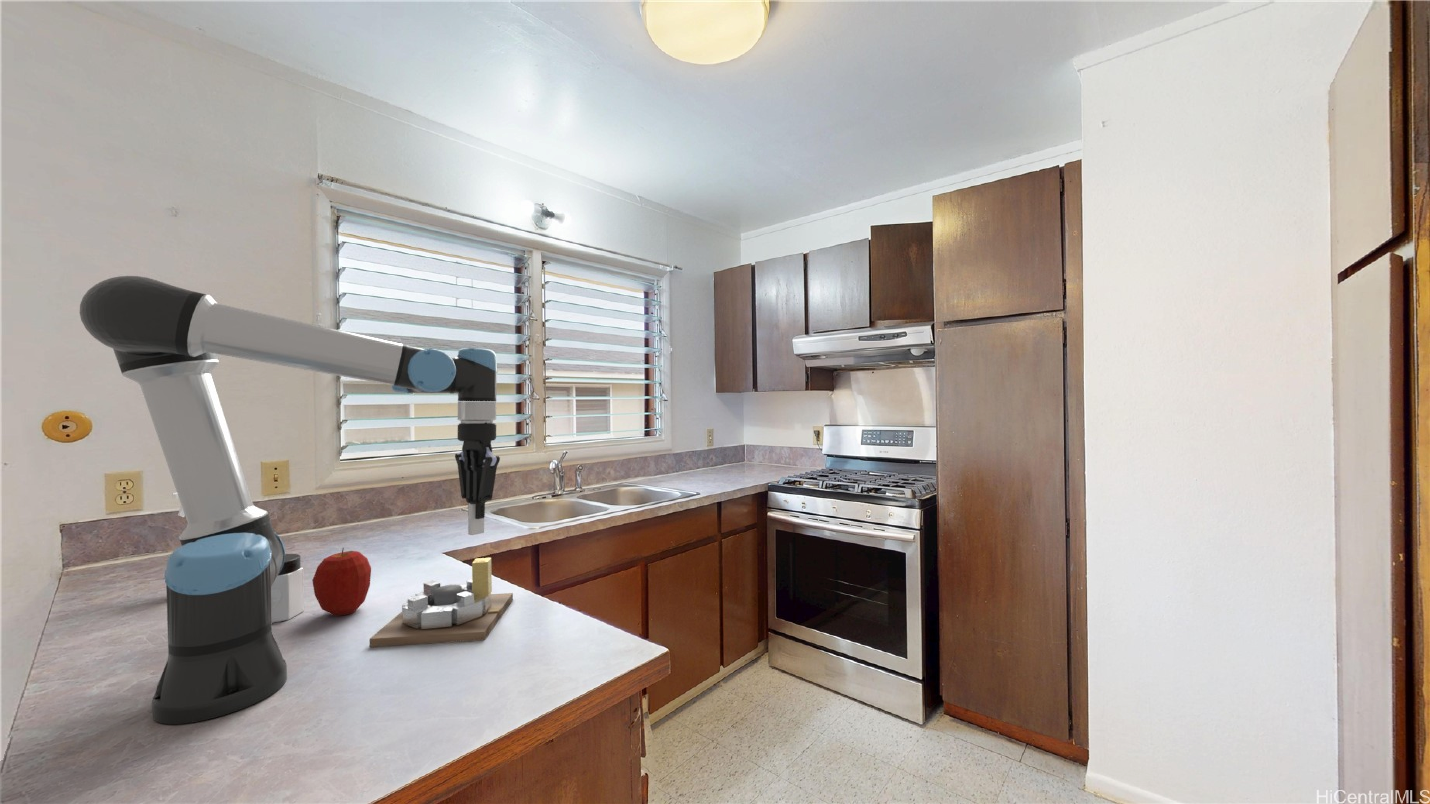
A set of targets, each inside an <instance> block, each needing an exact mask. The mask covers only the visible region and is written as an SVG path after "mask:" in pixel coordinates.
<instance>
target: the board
mask: <svg viewBox="0 0 1430 804" xmlns="http://www.w3.org/2000/svg"><path fill="white" fill-rule="evenodd" d="M461 592H462V586H460V585H459V584H447V585H442V586H440V587H439V588H437V589H435V590H434V606H441V605H452V604H455V603H456V594H458V593H461ZM513 596H514V593H513V592H508V593H491V605H490V607H489V609H488V610H487V612H486V614H482V616H480V617H478V618H475V619H472V620H470V621H467V622H464V623H462V624H459V625H456V624H453V625H452V626H451V627H440V628H429V629H422V627H420V628H418V629H416V628H414V627H412V626H409V625H407V624H405V623H403V621H402V611H401V612H400V613H398V614H397V615H396V616H394V617H393V618H392V619H391V620H390V621H389V622H388V623H386V624H385V625H383V627H382V628H380V629H379V630H378V631H376V633H375V634H373V635H372V636H371V637H370V638H369V648H377V647H392V646H393V647H394V646H406V645H407V646H408V645H425V644H441V643H452V642H453V643H455V642H471V641H472V642H473V641H485V640H486V638H488V636H489V634H490V633H491V631H492V630H494V628H495V626H496V625H497V623H498V622H499V620H500V619H501V617H502V616H503V615H504V613H505V612H506V611H507V609H508V607H509V606H510V604H511V603H512V602H513V600H514V597H513Z"/></svg>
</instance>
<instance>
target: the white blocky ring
mask: <svg viewBox="0 0 1430 804" xmlns="http://www.w3.org/2000/svg"><path fill="white" fill-rule="evenodd" d="M471 567H472V568H471V579H468V580H466V583H463V584H461V583H460V584H458V585H460V586H462V592H461V593H458V594H456V603H455V604H452V605H441V606H434V590H435V589H437V588H439V587H441V582H439V581H436V580H430V581H426V582H423V584H422V585H423V591H421V592H417V593H415V594H414V595H411V596H410V597H409V598H407V600H406V601H405V602H404V603H403V604H402V605H401V612H402V621H403V623H405V624H407V625H409V626H412V627H414V628H416V629H418V628H420V627H422V629H429V628H440V627H451V626H452V625H453V624H456V625H459V624H462V623H464V622H467V621H470V620H472V619H475V618H478V617H480V616H482V614H486V612H487V610H488V609H489V607H490V605H491V594H492V592H493V591H492V590H493V588H492V586H493V585H492V583H493V581H492V557H485V558H484V557H482V558H481V557H480V558H474V560H473V561H472V563H471Z"/></svg>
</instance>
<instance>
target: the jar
mask: <svg viewBox="0 0 1430 804" xmlns="http://www.w3.org/2000/svg"><path fill="white" fill-rule="evenodd" d="M284 558H285V561H284V564H283V567H282V569H281V571H280V573H279V574H278V576H277V577H276V579H275V581H274V583H273V584H272V586H271V618H272V619H271V624H274V623H280V622H283V621H288V620H291V619H293V618H294V617H296V616H297V615H300V614H301V613H303V612H304V611H305V593H304V592H305V591H304V589H305V588H304V587H305V585H304V568H303V567H301V565H302V564H301V555H300V554H297V553H285V557H284Z"/></svg>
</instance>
